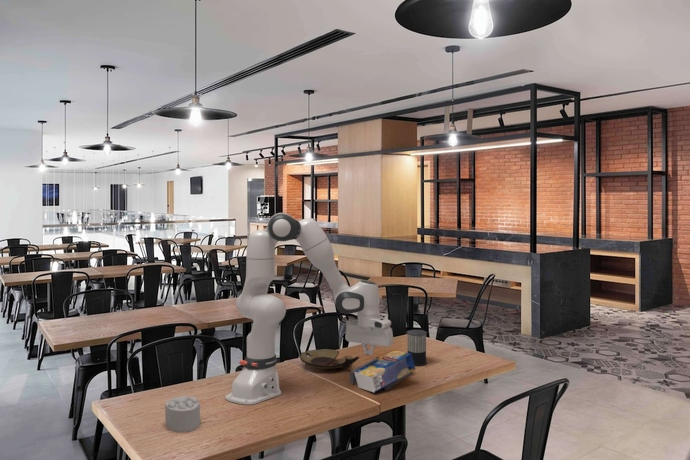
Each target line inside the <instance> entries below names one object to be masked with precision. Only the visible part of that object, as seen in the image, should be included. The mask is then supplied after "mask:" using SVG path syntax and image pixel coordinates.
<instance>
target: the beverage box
mask: <svg viewBox="0 0 690 460" xmlns="http://www.w3.org/2000/svg"><path fill="white" fill-rule="evenodd" d="M413 371H416V366H414V362H413V358H412V354H410V353H408V352H404V351H402V350H401V351H400V350H395V349H394V350H393V351H392V350H391V352H389V353H387V354H385V355H382V356H381V357H380V358H379V359H377V360H375V361H373V362H372V363H370V364H368V365H366V366H364V367H362V368H360V369H358V370H356V371H354V373H355V377H356V380H357V382H356V384H357V387H358V388H359V389H362V390H366V391H368V392H372V393H376V392H378V391H380V390H382V389H384V387H385V386H387V385H389V384H391V383H392V382H394V381H396V380H398V379H399V378H401V377H403V376H405V375H407V374H408V373H410V372H412V373H413Z"/></svg>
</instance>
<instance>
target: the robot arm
mask: <svg viewBox="0 0 690 460" xmlns="http://www.w3.org/2000/svg"><path fill="white" fill-rule="evenodd" d="M292 240H295V241H296V242H297V243H298V245H299V246H300V248H301V249H302V251H303V253H304V255H305V256H306V258H307V260H308V261H309V262H310V263H311V264H312V265H313V266H314V267H315V268H316V269H318V270H319V271H320V272H321V273H322V275H323V276H324V278H325V279H326V282H327V283H328V285H329V287H330V290H331V292H332V301H333V303H334V305H335V307H336V310H337V311H338V312H339V313H342V314H343V315H349V314H355V313H357V318H355V319H354V318H349V319H347V320H346V321H345V338H344V339H345V340H346V341H347V342H349V343H356V344H361V347H362V349H363V350H364V355H365V356H373V355H374V349H376V346H378V347H387V348H390V346H392V345H393V344H394V335H393V328H392V327H391V325H392V321H391V320H390V319H387V318H386V317H383V316H381V314H380V310H379V305H380V289H379V286H378V284H377V283H375V281H371V280H366V279H365V280H364V279H363V280H359V281H358V282H357V283H355V284H354V285H352V286H350V285H349V284H347V283H346V281H345V280H344V278H343V276H342V274H341V272H340V270H339V269H338V267H337V264H336V261H335V260H336V259H335V252H334V249H333V247H332V244H331V242H330V239H329V238H328V236H327V234H326V233H325V231H324V230H323V228H322V227H321V225H320V224H319V223H318V222H317V221H316V220H315V219H314V218H312V217H307V218H302V219H301V220H297V219H295V218H293V216H292V215H290V214H289V213H286V212H278V213H275V214H273V215H272V216H271V217H270V218H269V220H268V222H267V225H266V226H265V228H263V229H256V230H254V231H252V232H251V233H250V234H249V235H248V239H247V246H246V254H245V255H246V261H245V263H246V265H245V269H246V270H245V281H244V285H243V288H242V292H241V293H240V294H239V296H237V298H236V300H235V301H236V302H235V307H236V310H237V312H239V314H240V315H241V316H243V317H244V318H247V319H250V320H252V322H253V323H252V328H251V331H250V332H249V333H248V335H247V336H246V355H245V359H244V360H243V359H240V360H239V365H240V366H243V368H242V369H241V371H240V372H239V373H238V375H237V376H236V377H235V379H233V381H232V383H231V385H232V386H231V392H229V393H228V394H226V395H225V400H226V401H228V402H231V403H234V404H240V405H249V406H250V405H252V406H253V405H256V404H258V403H261V402H264V401H267V400H270V399H272V398H275V397H278V396H282V390H281V389H280V382H279V373H278V371H277V368H276V366H277V355H276V335H277V329H278V326H279V324H280V322H282V321H283V319H284V318H285V316H286V313H287V307H286V303H285V302H284V301H283V300H282V299H280V298H279V297H277V296H275V295H272V294H268V291H269V286H270V284H271V282H273V280H274V279H275V277H276V276H275V275H276V274H275V273H276V271H275V270H276V269H275V267H276V266H275V265H276V264H275V263H276V262H275V259H276V258H275V255H276V254H275V253H276V251H275V250H276V245H277V244H278V242H287V241H292ZM368 345H369V347H370V349H368Z"/></svg>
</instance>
